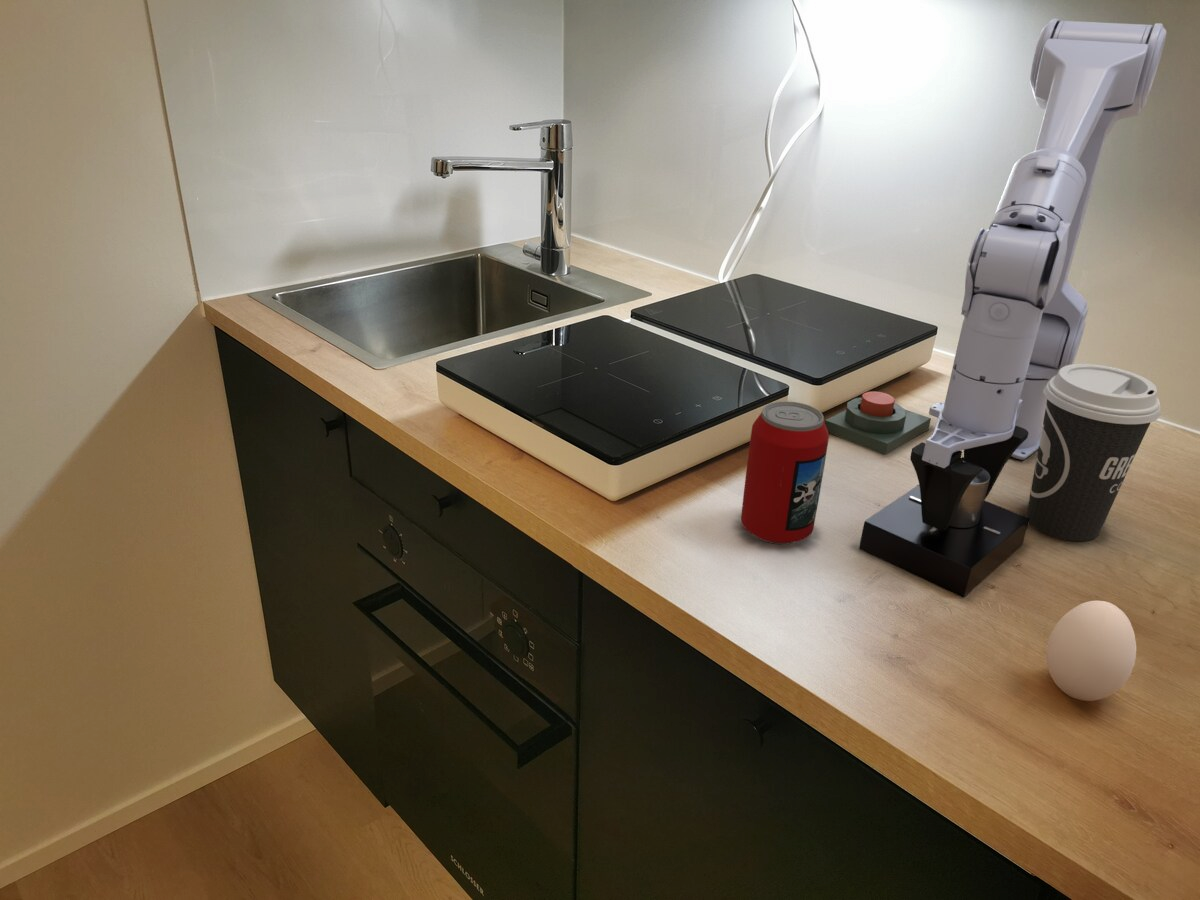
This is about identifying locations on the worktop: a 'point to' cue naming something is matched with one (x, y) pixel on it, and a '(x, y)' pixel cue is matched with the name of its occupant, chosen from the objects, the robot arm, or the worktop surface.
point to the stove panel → (943, 543)
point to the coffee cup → (1087, 446)
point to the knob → (971, 501)
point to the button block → (877, 427)
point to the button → (877, 404)
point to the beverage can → (784, 472)
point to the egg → (1091, 651)
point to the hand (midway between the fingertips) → (954, 510)
